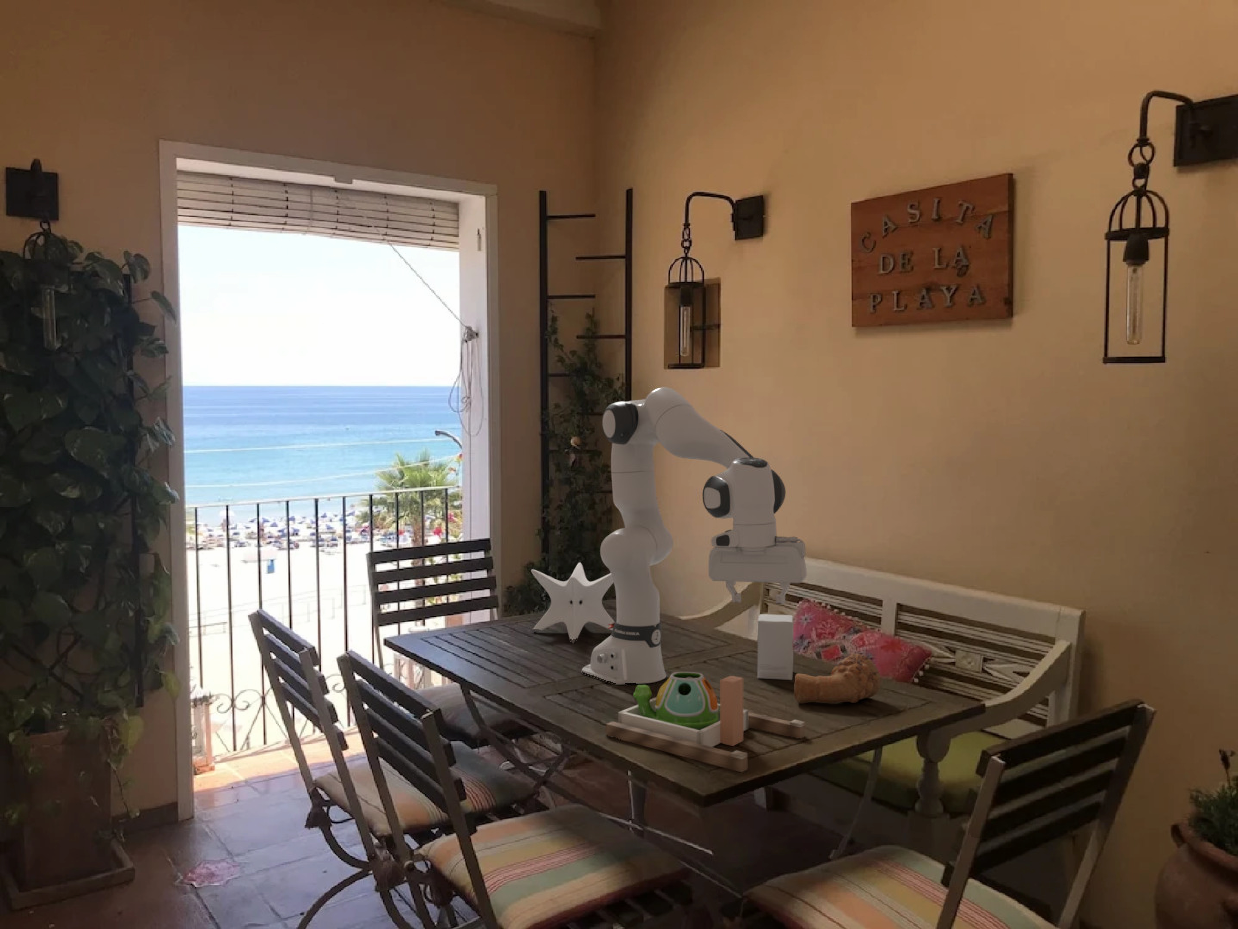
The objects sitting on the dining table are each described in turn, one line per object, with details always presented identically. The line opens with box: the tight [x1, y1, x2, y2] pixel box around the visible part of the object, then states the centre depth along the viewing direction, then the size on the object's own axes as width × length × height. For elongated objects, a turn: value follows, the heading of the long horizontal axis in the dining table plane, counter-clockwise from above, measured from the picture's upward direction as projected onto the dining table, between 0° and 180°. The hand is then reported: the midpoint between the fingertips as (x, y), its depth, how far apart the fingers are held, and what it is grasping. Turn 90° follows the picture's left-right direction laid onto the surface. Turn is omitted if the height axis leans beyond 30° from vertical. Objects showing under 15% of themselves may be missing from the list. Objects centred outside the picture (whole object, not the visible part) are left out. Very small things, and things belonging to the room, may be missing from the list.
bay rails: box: [605, 711, 806, 773], centre depth 195 cm, size 33×25×3 cm
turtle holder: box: [633, 671, 719, 730], centre depth 199 cm, size 12×18×12 cm
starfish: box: [530, 562, 615, 640], centre depth 289 cm, size 20×20×20 cm
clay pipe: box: [793, 653, 882, 705], centre depth 218 cm, size 19×11×15 cm
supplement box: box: [757, 613, 794, 681], centre depth 240 cm, size 9×9×15 cm
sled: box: [617, 675, 749, 748], centre depth 197 cm, size 24×18×13 cm
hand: (758, 603), depth 193 cm, fingers open, 8 cm apart
